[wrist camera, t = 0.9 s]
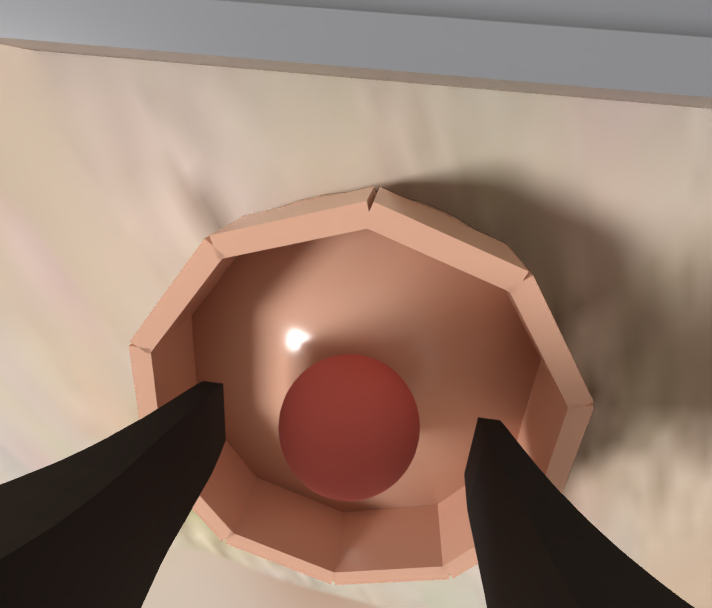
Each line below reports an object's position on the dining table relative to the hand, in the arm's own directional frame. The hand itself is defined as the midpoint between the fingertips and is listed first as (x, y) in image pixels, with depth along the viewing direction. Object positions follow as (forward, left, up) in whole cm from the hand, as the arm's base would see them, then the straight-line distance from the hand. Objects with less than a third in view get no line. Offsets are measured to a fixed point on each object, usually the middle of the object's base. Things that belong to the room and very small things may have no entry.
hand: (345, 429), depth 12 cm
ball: (0, 0, 0) cm, 0 cm away
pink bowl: (0, 0, -3) cm, 3 cm away
